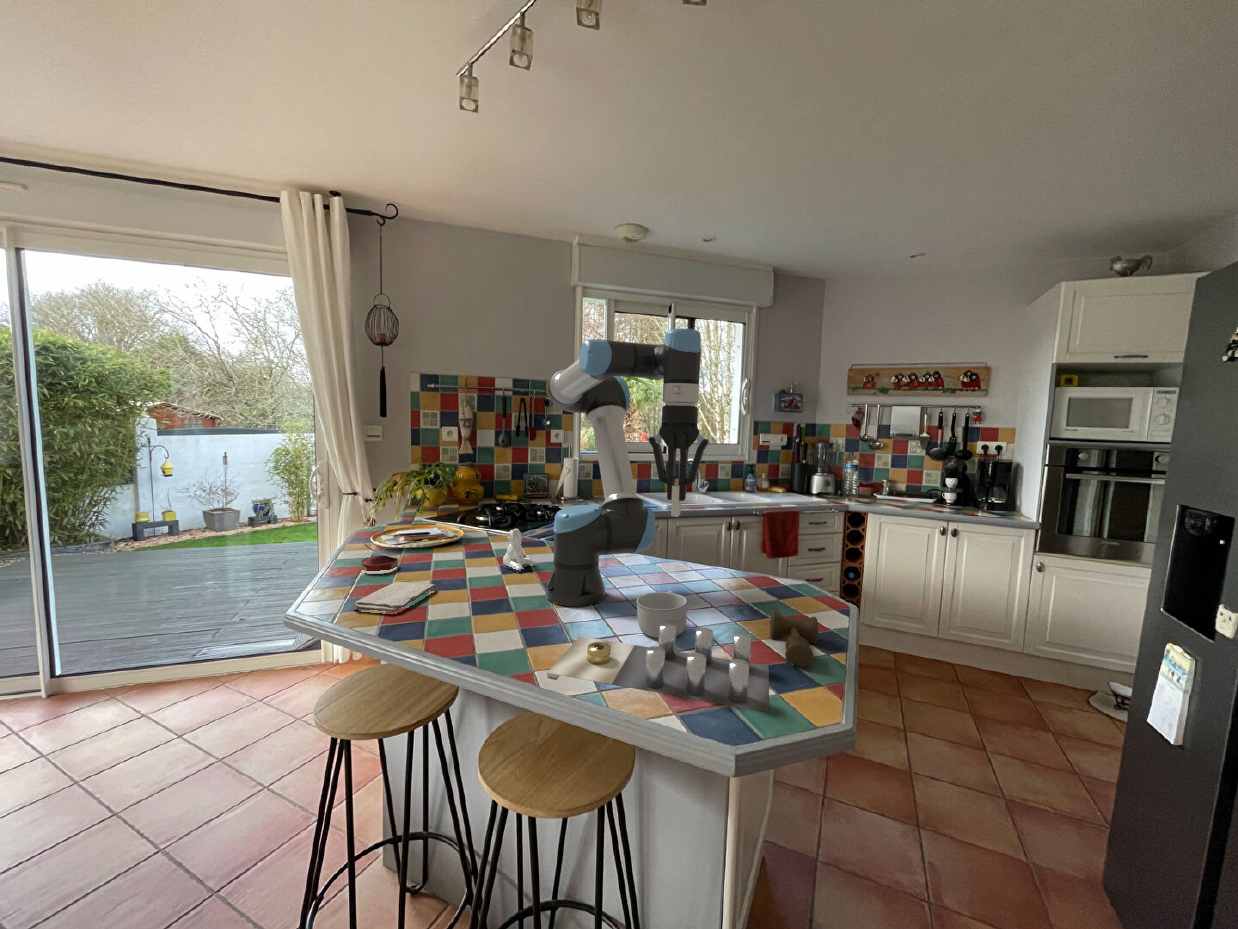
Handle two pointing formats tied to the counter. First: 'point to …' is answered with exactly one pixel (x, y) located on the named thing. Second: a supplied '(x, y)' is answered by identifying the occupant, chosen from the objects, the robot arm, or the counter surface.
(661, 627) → the steel spacers
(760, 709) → the board
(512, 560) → the sitting furry creature
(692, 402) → the robot arm
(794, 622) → the kendama
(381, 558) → the red and clear bowl
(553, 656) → the counter surface
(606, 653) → the brass knob
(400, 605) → the washcloth
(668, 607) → the teacup
